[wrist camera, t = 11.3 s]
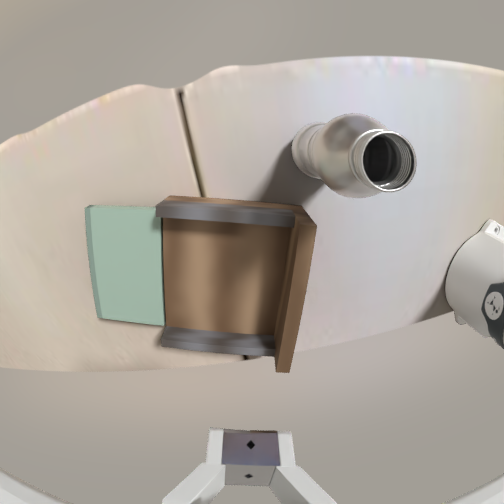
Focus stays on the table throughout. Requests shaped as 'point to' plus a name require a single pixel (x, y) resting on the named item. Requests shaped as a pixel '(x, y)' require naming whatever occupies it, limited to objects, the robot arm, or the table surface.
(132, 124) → the table surface
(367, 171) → the plastic bottle
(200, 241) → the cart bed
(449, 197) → the table surface
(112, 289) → the panel
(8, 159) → the table surface
